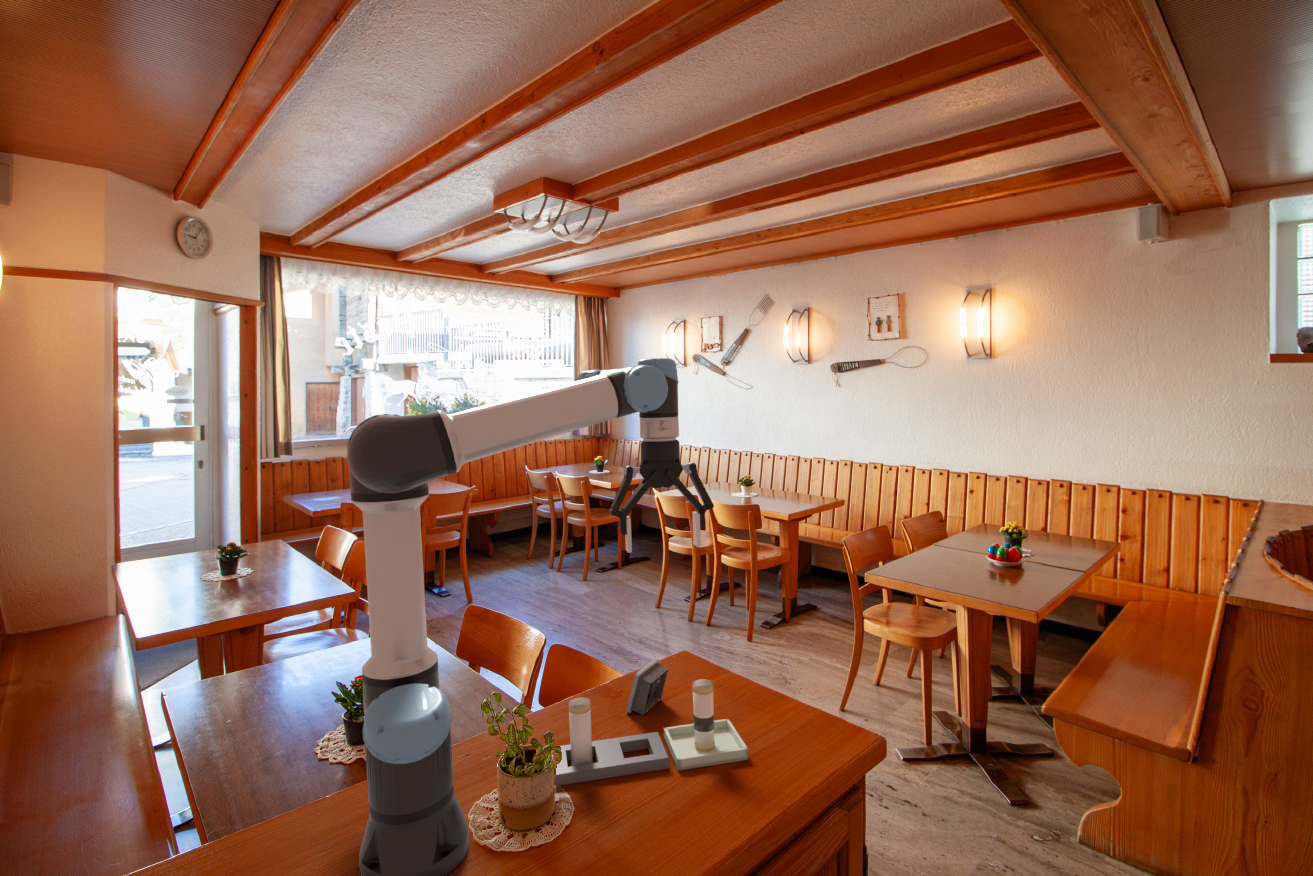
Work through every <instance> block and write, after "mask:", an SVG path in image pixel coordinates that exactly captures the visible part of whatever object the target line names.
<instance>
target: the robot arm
mask: <svg viewBox="0 0 1313 876" xmlns="http://www.w3.org/2000/svg"><path fill="white" fill-rule="evenodd" d="M678 386H679V379H678V369H677V363H676V361H675V360H674V359H672V358H668V357H667V358H666V357H664V358H663V357H660V358H642V359H640V360H638V361H637V365H634V366H629V367H628V366H627V367H620V368H619V367H618V368H612V369H592V370H583V371H581V372H580V373H579V374H578V377H577V380H576V381H572V382H569V383H565V384H560V385H556V386H553V387H549V388H545V389H542V390H537V391H534V392H531V393H530V392H529V393H527V394H521V395H519V396H515V397H512V398H511V397H510V398H508V399H504V400H500V401H499V400H498V401H496V402H495V401H494V402H492V403H488V404H483V405H480V406H477V407H472V408H469V409H465V410H461V411H458V412H453V413H446V412H444V411H443V410H440V409H438V410H437V409H436V410H434V411H429V412H424V413H421V414H413V415H398V414H390V413H383V414H376V415H373V416H370V417H368V418H365V419H364V420H363V421H361V422H360V423H358V425H357V426H356V427H355V428H354V429H353V431H351V434H350V435H349V438H348V441H347V445H346V446H347V447H346V449H347V450H346V452H347V453H346V458H347V463H348V464H347V465H348V470H349V487H350V498H351V503H352V504H353V505H354V506H356V507H357V508H359V509H360V510H361V512H362V522H363V539H364V540H363V541H364V543H363V544H364V556H365V557H364V558H365V572H366V574H365V575H366V586H367V587H366V590H367V607H368V620H369V621H368V623H369V638H370V653H371V654H370V657H369V658H368V660H366V662H365V663H364V664H363V665H362V668H361V674H362V675H361V676H362V677H361V678H362V692H363V693H362V694H363V696H362V697H363V698H362V709H363V714H364V718H363V724H362V739H363V743H364V750H365V765H366V766H365V767H366V778H367V779H366V780H367V781H366V782H367V795H368V798H367V799H368V810H369V813H368V814H369V815H368V820H367V823H366V826H365V830H364V833H363V838H362V841H361V845H360V849H359V852H358V868H360V870H359V873H360V872H361V874H362V876H445V875H446V874H448V873H449V874H450V873H452V872H453V871H454V870H455V869H456V868H457V867H458V866H459V865H460V863H462V862H463V860H464V859H465V856H466V855H467V852H468V850H469V846H470V835H469V833H470V832H469V824H468V821H467V818H466V817H465V814H464V812H463V810H462V808H461V807H462V806H461V805H460V803H459V800H458V799H457V796H456V794H455V788H454V787H455V786H454V785H455V784H454V766H453V765H454V764H453V750H452V748H453V747H452V733H451V726H452V711H451V707H450V705H449V704H450V703H449V700H448V697H447V696H446V694H445V693H444V692H443V691H442V690H441V689H440V675H439V674H440V673H439V657H438V654H437V652H436V651H434V650H433V649H432V648H430V647H429V646H428V633H427V631H428V629H427V613H426V599H425V598H426V596H425V579H424V577H425V576H424V575H425V574H424V562H423V561H424V560H423V557H424V556H423V543H422V542H423V541H422V539H423V538H422V526H421V525H422V524H421V523H422V522H421V521H422V520H421V505H422V504H423V503H424V502H425V501H426V499H427V498H428V497H429V496H430V493H429V492H430V491H429V490H430V489H429V488H430V487H429V483H430V482H433V481H435V480H438V479H441V478H444V477H447V476H450V475H451V476H452V475H454V474H457V473H459V472H460V470H461V469H462V466H463V465H465V464H466V463H469V462H473V461H477V460H480V459H484V458H486V457H489V456H493V455H497V454H499V453H503V452H506V451H509V450H513V449H516V448H519V447H523V446H527V445H529V444H533V443H537V442H541V441H544V440H547V439H550V438H553V437H557V436H560V435H565V434H566V433H567V434H568V433H570V432H573V431H577V430H581V429H584V428H587V427H591V426H592V425H597V424H599V423H603V422H607V421H610V420H613V419H614V420H615V419H619V418H621V417H625V416H629V415H632V414H635V413H639V416H638V417H639V432H640V433H639V437H640V438H641V439H642V441H641V442H640V465H639V466H631V465H625V467H624V476H623V479H622V481H621V483H620V485H619V488H618V490H617V492H616V494H615V496H614V499H613V501H612V503H611V504H610V507H609V510H608V511H609V514H610V515H611V516H613V517H618V522H619V524H618V525H619V526H618V527H619V533H620V535H621V536H625V539H624V540H625V550H626V552H627V553H628V554H629V553H633V548H632V545H633V544H632V541H633V540H632V518H631V517H630V516H629V514H630V513H631V512H632V510H633V509H634V507H636V505H637V504H638V503H639V501H640V500H641V499H642V497H643V496H644V495H645V493H646V492H648V491H649V489H650V488H654V489H660V488H666V489H669V488H671V487H672V486H674V487H675V488H676V489H677V490H678V491H679V492H680V494H681V495H682V496H683V497H684V498H685V499H686V500H687V501H688V503H690V504H691V506H692V507H693V508H694V509H695V511H692V512H691V513H692V539H693V540H692V544H693V545H694V546H695V547H696V548H700V547H701V546H702V545H701V544H702V543H701V530H702V529H705V527H706V521H705V520H706V519H705V516H706V515H705V514H706V512H707V511H708V510H712V509H714V508H715V507H714V505H715V504H714V503H713V501H712V499H711V497H710V494H709V493H708V491H707V489H706V488H705V485H704V484H703V482H702V480H701V478H700V477H699V474H698V468H697V464H696V463H695V462H693V461H689V462H687V463H684V464H683V463H681V452H680V441H679V440H678V439H677V438H679V437H680V431H679V430H680V428H679V391H678V390H679V387H678ZM683 471H684V473H685V474H686V475H688V476H689V478H690V480H691V483H692V484H693V485H694V488H695V490H696V491H697V494H698V496H699V497H700V499H701V501H702V503H701V502H700V501H699V500H698V499H697V498H696V496H694V495H693V493H692V492H691V491H690V490H689V489H688V487H686V486H685V484H684V483H683V482H682V481H681V480H680V478H679V477H680V476H681V474H682V472H683ZM638 474H639V475H640V476H641V477H642V481H641V482H640V483H639V484H638V486H637V488H636V489H635V490H634V492H633V493H632V494H631V496H630V497H629V498H628V499H627V501H626V502H625V503H624V505H623V506H622V504H623V501H624V500H625V497H626V495H627V493H628V491H629V488H630V486H631V484H632V481H633V479H634V478H636V476H637V475H638ZM621 506H622V507H621ZM452 870H453V871H452ZM451 871H452V872H451ZM449 874H448V875H449ZM446 876H447V875H446Z"/></svg>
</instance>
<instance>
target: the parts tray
mask: <svg viewBox="0 0 1313 876" xmlns="http://www.w3.org/2000/svg"><path fill="white" fill-rule="evenodd" d="M663 738H664V742H665V743H666V747H667V748H668V751H669V753H670V756H671V757H672V761H673V762H674V765H675V767H676V770H677V771H679V772H680V771H684V770H691V769H696V768H703V767H709V766H715V765H721V764H728V763H735V762H741V761H749V747H748V746H747V745H746V743H745V742H744V740H743V739H742V737H741V736H740V734H739V732H738V731H737V730H736V728H735V727H734V725H733V723H732V721H731V719H729V718H725V719H724V718H723V719H716V720H714V739H715V747H714V749H712V750H710V751H699V750H697V749H696V748H695V747H694V723H689V724H681V725H675V726H670V727H669V726H667V727H663Z"/></svg>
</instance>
